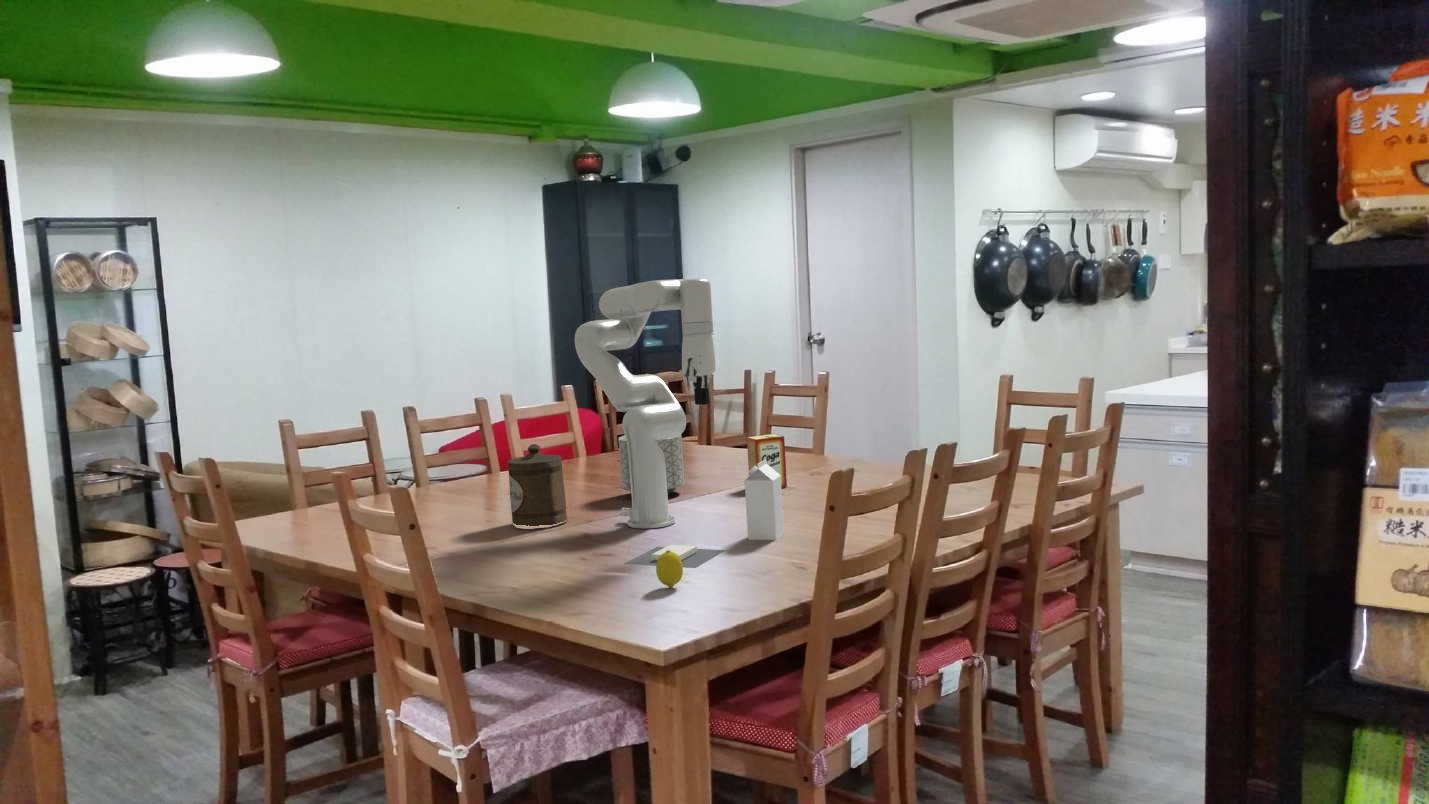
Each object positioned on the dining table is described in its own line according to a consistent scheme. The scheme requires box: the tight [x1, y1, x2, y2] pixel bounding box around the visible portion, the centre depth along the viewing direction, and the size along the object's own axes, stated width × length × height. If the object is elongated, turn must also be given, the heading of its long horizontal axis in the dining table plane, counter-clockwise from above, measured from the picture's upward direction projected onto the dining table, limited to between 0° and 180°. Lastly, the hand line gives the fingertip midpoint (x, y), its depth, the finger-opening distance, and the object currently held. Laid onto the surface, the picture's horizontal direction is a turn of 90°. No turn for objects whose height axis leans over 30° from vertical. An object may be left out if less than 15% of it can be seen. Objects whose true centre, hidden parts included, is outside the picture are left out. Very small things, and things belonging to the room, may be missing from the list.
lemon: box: [655, 550, 684, 589], centre depth 226 cm, size 6×6×8 cm
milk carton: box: [744, 459, 785, 541], centre depth 265 cm, size 7×7×19 cm
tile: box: [652, 544, 698, 561], centre depth 250 cm, size 7×2×9 cm
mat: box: [623, 546, 727, 569], centre depth 251 cm, size 18×16×1 cm
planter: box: [617, 433, 685, 496], centre depth 331 cm, size 19×19×18 cm
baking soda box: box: [746, 433, 788, 489], centre depth 332 cm, size 10×6×16 cm
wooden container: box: [507, 443, 568, 526], centre depth 299 cm, size 15×15×22 cm
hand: (702, 404), depth 269 cm, fingers closed
